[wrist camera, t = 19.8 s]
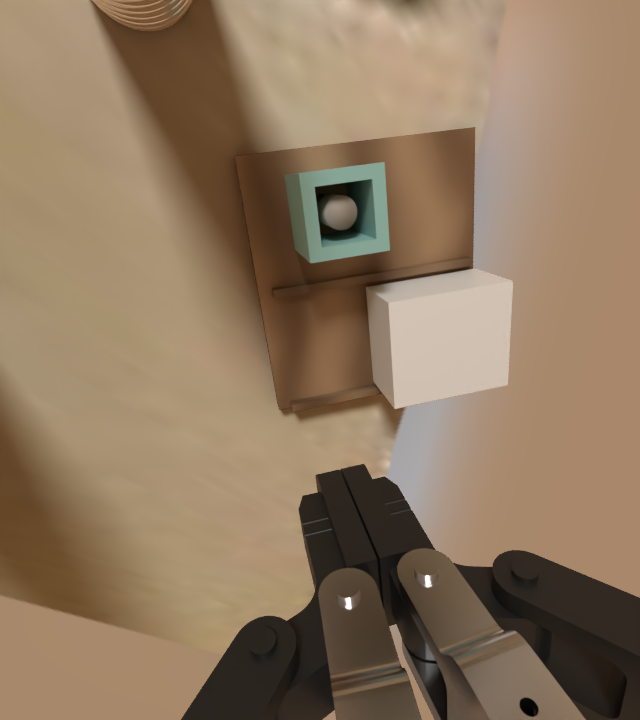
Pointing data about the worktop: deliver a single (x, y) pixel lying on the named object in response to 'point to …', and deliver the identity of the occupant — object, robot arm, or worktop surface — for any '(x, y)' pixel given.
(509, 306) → the white rectangular block
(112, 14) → the water bottle
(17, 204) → the worktop surface
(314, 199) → the sleeve
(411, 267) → the board
